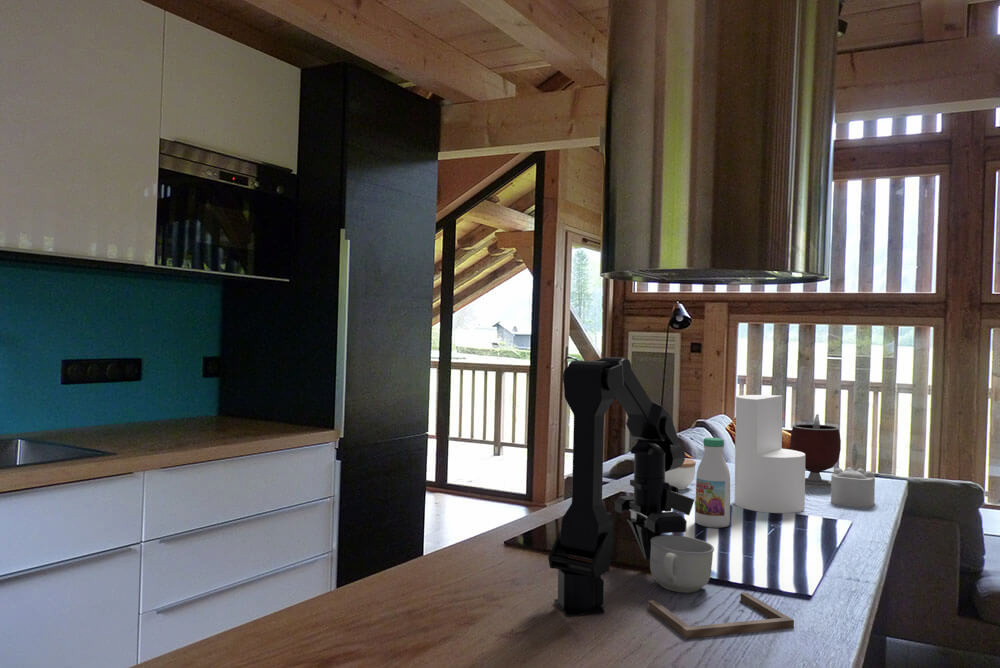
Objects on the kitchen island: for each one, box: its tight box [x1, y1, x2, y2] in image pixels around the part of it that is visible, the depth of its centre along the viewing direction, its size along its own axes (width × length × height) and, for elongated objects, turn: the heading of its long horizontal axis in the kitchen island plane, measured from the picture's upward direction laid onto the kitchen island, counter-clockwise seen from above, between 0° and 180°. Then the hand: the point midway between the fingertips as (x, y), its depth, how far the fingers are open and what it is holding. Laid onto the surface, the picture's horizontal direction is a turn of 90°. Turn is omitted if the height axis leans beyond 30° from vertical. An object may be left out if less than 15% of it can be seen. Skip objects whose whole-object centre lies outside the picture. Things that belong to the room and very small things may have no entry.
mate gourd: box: [789, 414, 842, 489], centre depth 233 cm, size 16×14×20 cm
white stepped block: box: [733, 394, 806, 514], centre depth 203 cm, size 17×17×28 cm
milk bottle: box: [695, 437, 731, 529], centre depth 182 cm, size 8×8×20 cm
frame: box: [647, 592, 795, 639], centre depth 122 cm, size 18×13×1 cm
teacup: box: [649, 534, 715, 594], centre depth 136 cm, size 14×11×8 cm
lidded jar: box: [665, 458, 696, 491], centre depth 225 cm, size 11×11×9 cm
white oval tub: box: [830, 466, 876, 509], centre depth 209 cm, size 10×13×9 cm
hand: (648, 559), depth 147 cm, fingers closed
